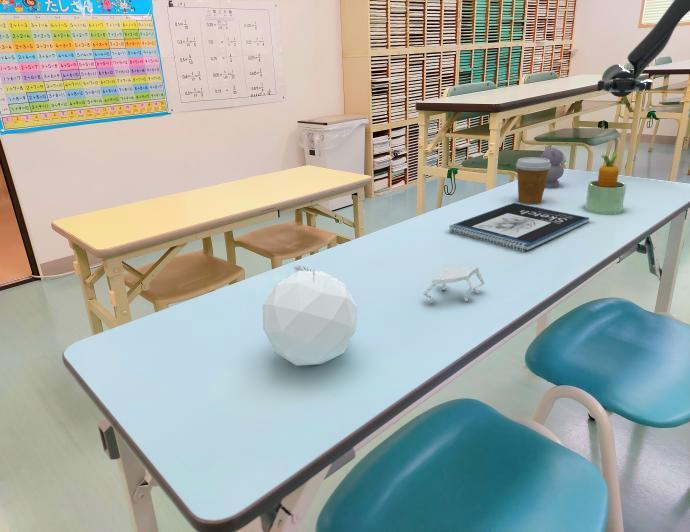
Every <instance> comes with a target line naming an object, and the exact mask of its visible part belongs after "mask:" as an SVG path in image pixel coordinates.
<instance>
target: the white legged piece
mask: <svg viewBox="0 0 690 532" xmlns="http://www.w3.org/2000/svg"><path fill="white" fill-rule="evenodd" d="M473 275H476V277H477V278H478V279H479V281H480V284H479V285H476V286H473V284H472V282H471V280H470V278H472V276H473ZM462 281H466V283H467V285H468V287H469V288H468V290H467V291H466V292H465V294H464V296H463V299H464V301H465V302H468V301H469V298H468V297H467V296H468V294H469V293H470V292H471V291H472V290H473V291H474V292H475V293H476V294H479V293H480V292H479V291H478V290H477V289H478V288H480V287H481V286H484V285H485V284H486V282H485V280H484V278H483V276H482V273H481V272H480V269H479V266H477V267H476V266H467V267H466V266H464V267H460V266H459V267H457V266H448V265H446V266H445V268H444V269H443V270H442V271H441V272H440V273H439V274H438V275H437V276H436V278H433V279H432V282H431V284H430V285H429V287H428V288H427V289H426V290H424V291H423V293H422V295H423V296H425V297H426V298H428V299H429V300H431V301H429V302H428V304H432V303H434V302H436V299H435V298H434V297H432V295H429V294H428V293H429V292H430V291H431V290H432V289H434V288H435V287H436V286H437V285H440V284H441V285H442V288H441V290H442V291H444V290H447V285H446V284H452V283H457V282H462Z"/></svg>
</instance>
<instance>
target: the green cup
mask: <svg viewBox="0 0 690 532" xmlns="http://www.w3.org/2000/svg"><path fill="white" fill-rule="evenodd" d="M626 191H627V184H626V183H624V182H621V181H617V182H616V187H615V188H605V187H598V179H597V180H596V179H595V180H592V181H589V182H588V185H587V192H586V198H585V199H586V200H585V210H587V211H588V212H591V213H594V214H601V215H616V214H620V213H622V212H623V209H624V203H625V196H626Z"/></svg>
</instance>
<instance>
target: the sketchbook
mask: <svg viewBox="0 0 690 532" xmlns="http://www.w3.org/2000/svg"><path fill="white" fill-rule="evenodd" d="M589 222H590V217H588V216H583V215H577V214H573V213H567V212H563V211H557V210H552V209H547V208H543V207H539V206H532V205H529V204H528V205H527V204H524V203H517V202H512V203H509V204H507V205H503V206H501V207H498V208H495V209H493V210H490V211H487V212H484V213H481V214H479V215H475V216H473V217H470V218H467V219H465V220H462V221H459V222H456V223H453V224H450V225H449V226H448V227H449V229H448V230H449V232H450V233H454V234H457V235H460V236H466V237H468V238H472V239H477V240H480V241H483V242H487V243H490V244H491V243H493V244H494V245H495V244H496V245H499V246H502V247H506V248H509V249H513V250H516V251H520V252H526V251H527V252H528V251H529V250H532V249H535V248H536V247H538V246H540V245H543V244H545V243H547V242H549V241H551V240H553V239H555V238H558V237H560V236H562V235H564V234H566V233H568V232H570V231H572V230H575V229H577V228H578V227H579V228H580V227H581V226H583V225H586V224H587V223H589Z"/></svg>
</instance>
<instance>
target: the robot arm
mask: <svg viewBox="0 0 690 532" xmlns="http://www.w3.org/2000/svg"><path fill="white" fill-rule="evenodd" d="M689 12H690V0H673V1H672V2H671V4H670V5H669V6H668V8H667V9H666V11H665V12H664V13H663V14H662V16H661V18H659V20H658V21H657V22H656V24H655V25H654V26H653V28H652V29H651V30H650V31H649V32H648V34H647V35H646V36H645V37H644V38H642V39H641V41H640V42H639V43H638V44H637V45H636V46H635V48H633V49H632V50H631V51H630V52H629V54H628V55H627V57H626V59H627V61H628V63H629V64H630V65H631V67H632V69H633V71H632V72H631V71H629V70H627V69H625V68H624V67H623V66H621V65H620V64H619V63H618V64H612V65H610V66H609V67H608V68H607V69H606V70H605V71H603V73H602V76H601V79H600V80H598V81H597V86H596V91H597V92H600V91H602V90H603V92H608V93H611V95H613V96H615V97H617V98H624V97H627V96H630V95H631V94H632V92H639V91H640V92H643V91H645V90H646V91H652V85H653V80H650V79H644V80H641V79H640V77H641V75H642V73H643V72H644V71H645V69H646V68H647V67H649V65H650V64H651V63H652V62H653V61H654V60H655V59H656V58H657V57H658V56H659V55H660V54H661V53H662V52H663V51H664V49H665V48H666V46H667V45H668V43H669V42H670V39H671V37H672V35H673V33H674V31H675V30H676V28H677V26H678V24H679V23H680V22H681V21H682V19H683V18H684V17H685V16H686V15H687V14H689Z"/></svg>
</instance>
